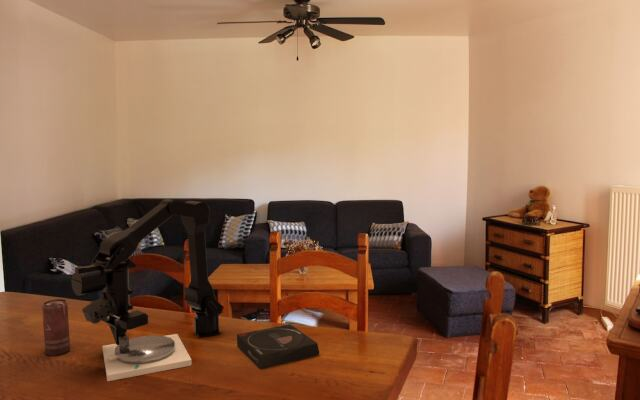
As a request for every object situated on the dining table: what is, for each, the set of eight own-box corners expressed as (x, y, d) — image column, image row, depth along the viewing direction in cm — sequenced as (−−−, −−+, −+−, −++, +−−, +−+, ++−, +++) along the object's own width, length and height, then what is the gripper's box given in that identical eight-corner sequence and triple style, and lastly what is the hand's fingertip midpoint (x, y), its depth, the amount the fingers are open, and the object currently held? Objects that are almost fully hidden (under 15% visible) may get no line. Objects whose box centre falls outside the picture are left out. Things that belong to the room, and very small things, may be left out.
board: (177, 338, 150) (177, 333, 150) (191, 365, 132) (191, 359, 132) (102, 351, 141) (102, 345, 141) (107, 381, 123) (106, 374, 123)
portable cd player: (319, 356, 138) (319, 342, 137) (259, 371, 129) (259, 355, 129) (292, 336, 152) (292, 323, 152) (237, 348, 144) (236, 334, 143)
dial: (159, 336, 147) (158, 317, 146) (185, 351, 136) (184, 331, 135) (98, 353, 135) (97, 332, 135) (120, 371, 124) (119, 348, 124)
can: (60, 357, 137) (57, 306, 136) (40, 355, 139) (36, 304, 137) (76, 348, 143) (73, 299, 142) (55, 346, 145) (52, 297, 143)
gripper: (67, 286, 131) (69, 344, 133) (107, 302, 120) (109, 366, 122) (108, 276, 140) (109, 331, 142) (149, 291, 129) (150, 350, 131)
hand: (118, 344), depth 134 cm, fingers closed
